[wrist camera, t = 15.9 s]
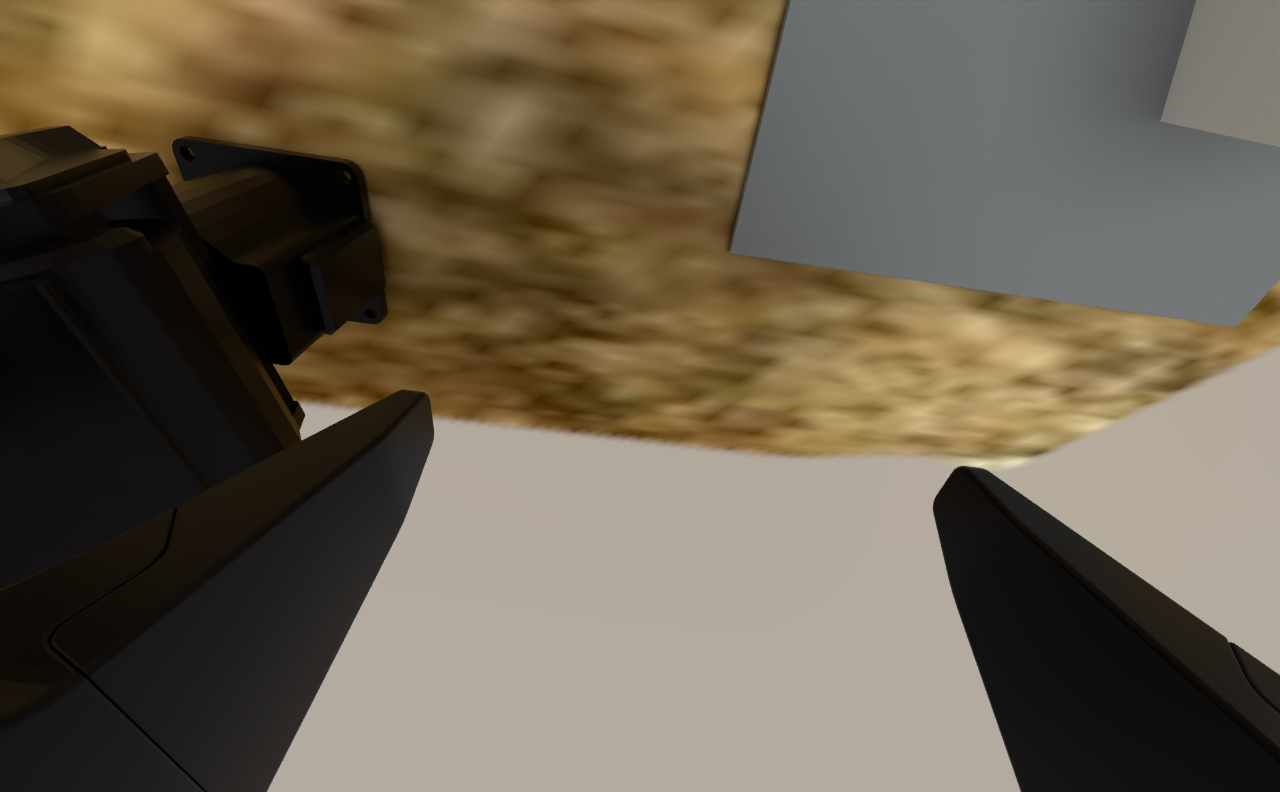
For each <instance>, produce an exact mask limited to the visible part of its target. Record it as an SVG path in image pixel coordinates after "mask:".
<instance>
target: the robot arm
mask: <svg viewBox="0 0 1280 792" xmlns="http://www.w3.org/2000/svg"><path fill="white" fill-rule="evenodd" d="M172 148H173V153H174V155H175V158H176V161H177V163H178V166H179V169H180V172H181V174H182V177H183V180H184V182H182V183H179V184H176V185H173V186H171V185H170V183H169V181H168V180H167V178H166V176H165V175H167V174H169V172H168V171H167V169H166V167H165V165H164V164H163V162H162V160H161V158H160V156H159V155H158V153H157V152H144V153H130V154H128V153H127V151H126V149H107V147H106V146H99V145H98V144H96V143H95V142H93V141H92V140H90V139H88V138H87V137H85V136H84V135H82V134H81V133H79V132H78V131H76V130H75V129H73V128H71V127H70V126H58V127H46V128H40V129H34V130H29V131H23V132H17V133H11V134H6V135H0V792H267V790H268V788H269V786H270V784H271V782H272V780H273V778H274V776H275V774H276V772H277V771H278V768H279V767H280V765H281V763H282V761H283V759H284V757H285V754H286V753H287V751H288V749H289V747H290V745H291V743H292V741H293V739H294V737H295V735H296V733H297V731H298V729H299V727H300V725H301V723H302V721H303V719H304V717H305V716H306V714H307V712H308V710H309V708H310V706H311V704H312V702H313V700H314V698H315V696H316V694H317V692H318V690H319V688H320V686H321V684H322V682H323V680H324V678H325V676H326V674H327V672H328V670H329V668H330V666H331V664H332V662H333V660H334V658H335V657H336V655H337V653H338V651H339V649H340V647H341V645H342V643H343V641H344V639H345V637H346V635H347V633H348V631H349V629H350V627H351V625H352V623H353V621H354V619H355V617H356V615H357V613H358V611H359V609H360V607H361V605H362V603H363V601H364V599H365V598H366V596H367V594H368V592H369V589H370V588H371V586H372V584H373V582H374V580H375V578H376V576H377V574H378V572H379V570H380V568H381V566H382V564H383V562H384V560H385V558H386V556H387V554H388V552H389V550H390V548H391V546H392V544H393V542H394V541H395V539H396V537H397V534H398V532H399V530H400V528H401V526H402V524H403V522H404V519H405V517H406V514H407V511H408V509H409V506H410V504H411V501H412V498H413V496H414V493H415V490H416V487H417V485H418V482H419V479H420V476H421V474H422V471H423V468H424V466H425V463H426V460H427V457H428V455H429V452H430V449H431V446H432V443H433V439H434V426H433V419H432V412H431V404H430V399H429V397H428V395H427V394H426V393H424V392H419V391H412V390H400V391H397V392H395V393H393V394H391V395H389V396H388V397H386V398H384V399H382V400H380V401H378V402H376V403H374V404H372V405H370V406H368V407H366V408H364V409H362V410H360V411H358V412H356V413H355V414H353V415H351V416H349V417H347V418H345V419H343V420H341V421H339V422H337V423H335V424H333V425H331V426H329V427H327V428H325V429H324V430H322V431H320V432H318V433H316V434H314V435H312V436H310V437H308V438H306V439H304V440H302V441H301V436H300V431H299V430H300V428H301V425H302V422H303V419H304V417H305V413H304V411H303V410H302V408H301V406H300V404H299V402H297V401H294V400H293V399H292V397H291V395H290V393H289V392H288V390H287V388H286V386H285V385H284V383H283V381H282V379H281V378H280V376H279V374H278V372H277V371H276V369H275V367H274V365H273V364H279V365H289V364H291V363H292V362H293V361H294V360H295V359H296V358H297V357H298V356H299V355H301V354H302V353H303V352H304V351H305V350H306V349H307V348H308V347H310V346H311V345H312V344H313V343H314V342H315V341H316V340H317V339H318V338H320V337H321V336H322V335H323V334H325V335H332V334H333V333H335V332H336V331H337V330H338V329H339V328H340V327H341V326H342V325H343V324H344V323H345V322H346V321H354V322H361V323H368V324H378V323H380V322H381V321H382V320H383V319H384V318H385V317H386V316H387V308H386V302H385V297H384V291H383V287H384V286H385V285H386V282H385V276H384V270H383V264H382V259H381V253H380V247H379V241H378V235H377V230H376V227H375V225H374V224H373V223H372V221H371V218H370V212H369V206H368V201H367V195H366V190H365V184H364V178H363V174H362V172H361V170H360V168H359V167H358V166H357V165H356V164H355V163H353V162H352V161H349V160H346V159H339V158H332V157H325V156H319V155H312V154H305V153H298V152H292V151H285V150H278V149H272V148H265V147H258V146H251V145H245V144H238V143H231V142H224V141H218V140H211V139H204V138H198V137H191V136H190V137H183V138H179V139H176V140H175V141H173V145H172ZM188 148H190V149H191V150H192V151H193V153H194V154H195V158H194V157H193V156H192V155H191V154H190V152H189V150H188ZM342 169H343V170H345V171H347V172H348V173H349V175H350V177H351V182H350V181H348V180H346V179H345V178H344V176H343V174H342ZM369 308H371V309H373V310H374V311H375V312H376V313H377V315H375V314H373V313H372V312H371V311H370V309H369ZM933 513H934V517H935V521H936V526H937V530H938V535H939V539H940V543H941V548H942V551H943V556H944V560H945V565H946V569H947V573H948V578H949V582H950V585H951V589H952V593H953V596H954V599H955V602H956V605H957V609H958V612H959V614H960V617H961V620H962V623H963V626H964V629H965V632H966V635H967V637H968V640H969V643H970V646H971V649H972V652H973V655H974V658H975V660H976V663H977V666H978V669H979V672H980V675H981V678H982V681H983V684H984V686H985V689H986V692H987V695H988V698H989V701H990V704H991V706H992V709H993V712H994V715H995V718H996V721H997V724H998V727H999V730H1000V732H1001V736H1002V738H1003V741H1004V744H1005V747H1006V750H1007V753H1008V756H1009V758H1010V761H1011V764H1012V767H1013V770H1014V773H1015V776H1016V779H1017V782H1018V785H1019V787H1020V790H1021V792H1280V675H1279V674H1277V673H1276V672H1275V671H1273V670H1272V669H1270V668H1269V667H1267V666H1266V665H1265V664H1263V663H1262V662H1260V661H1259V660H1257V659H1256V658H1255V657H1253V656H1252V655H1250V654H1249V653H1247V652H1246V651H1245V650H1243V649H1242V648H1240V647H1239V646H1238V645H1236V644H1235V643H1232V642H1228V640H1227V638H1226V637H1224V636H1223V635H1221V634H1220V633H1219V632H1217V631H1216V630H1214V629H1213V628H1212V627H1210V626H1209V625H1207V624H1206V623H1204V622H1203V621H1202V620H1200V619H1199V618H1197V617H1196V616H1194V615H1193V614H1192V613H1190V612H1189V611H1187V610H1186V609H1184V608H1183V607H1182V606H1180V605H1179V604H1177V603H1176V602H1175V601H1173V600H1172V599H1170V598H1169V597H1167V596H1166V595H1165V594H1163V593H1162V592H1160V591H1159V590H1157V589H1156V588H1154V587H1153V586H1152V585H1150V584H1149V583H1147V582H1146V581H1145V580H1143V579H1142V578H1140V577H1139V576H1137V575H1136V574H1135V573H1133V572H1132V571H1130V570H1129V569H1127V568H1126V567H1124V566H1123V565H1122V564H1120V563H1119V562H1117V561H1116V560H1115V559H1113V558H1112V557H1110V556H1109V555H1107V554H1106V553H1105V552H1103V551H1102V550H1100V549H1099V548H1097V547H1096V546H1095V545H1093V544H1092V543H1090V542H1089V541H1087V540H1086V539H1085V538H1083V537H1082V536H1080V535H1079V534H1077V533H1076V532H1074V531H1073V530H1071V529H1070V528H1069V527H1067V526H1066V525H1064V524H1063V523H1062V522H1060V521H1059V520H1057V519H1056V518H1055V517H1053V516H1052V515H1050V514H1049V513H1048V512H1046V511H1045V510H1043V509H1042V508H1040V507H1039V506H1038V505H1036V504H1035V503H1033V502H1032V501H1030V500H1029V499H1027V498H1026V497H1024V496H1023V495H1022V494H1020V493H1019V492H1017V491H1016V490H1015V489H1013V488H1012V487H1010V486H1009V485H1008V484H1006V483H1005V482H1003V481H1002V480H1000V479H999V478H997V477H996V476H995V475H993V474H992V473H990V472H989V471H987V470H985V469H982V468H976V467H968V466H960V467H957V468H956V469H954V471H953V472H952V473H951V475H950V476H949V478H948V479H947V481H946V482H945V484H944V485H943V487H942V488H941V489H940V491H939V493H938V494H937V495H936V497H935V500H934V503H933Z"/></svg>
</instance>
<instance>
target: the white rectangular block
mask: <svg viewBox="0 0 1280 792" xmlns="http://www.w3.org/2000/svg"><path fill="white" fill-rule="evenodd" d="M1160 122H1165V123H1169V124H1174V125H1179V126H1183V127H1188V128H1193V129H1197V130H1202V131H1207V132H1212V133H1216V134H1221V135H1226V136H1230V137H1235V138H1240V139H1244V140H1249V141H1254V142H1259V143H1263V144H1268V145H1273V146H1277V147H1280V0H1196V3H1195V6H1194V9H1193V13H1192V16H1191V19H1190V23H1189V26H1188V29H1187V33H1186V36H1185V39H1184V43H1183V46H1182V50H1181V53H1180V56H1179V60H1178V63H1177V66H1176V70H1175V73H1174V76H1173V80H1172V83H1171V86H1170V90H1169V93H1168V97H1167V100H1166V103H1165V107H1164V110H1163V113H1162V117H1161V120H1160Z"/></svg>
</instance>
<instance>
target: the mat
mask: <svg viewBox="0 0 1280 792" xmlns="http://www.w3.org/2000/svg"><path fill="white" fill-rule="evenodd" d="M1195 3H1196V0H788V2H787V6H786V10H785V15H784V19H783V23H782V27H781V32H780V36H779V40H778V44H777V48H776V53H775V57H774V61H773V65H772V69H771V74H770V78H769V82H768V86H767V91H766V95H765V99H764V103H763V107H762V112H761V116H760V120H759V124H758V128H757V133H756V137H755V141H754V145H753V150H752V154H751V158H750V162H749V166H748V171H747V175H746V179H745V183H744V187H743V192H742V196H741V200H740V204H739V209H738V213H737V217H736V221H735V225H734V230H733V234H732V238H731V242H730V246H729V251H730V253H731V254H738V255H745V256H752V257H759V258H765V259H772V260H779V261H786V262H793V263H800V264H806V265H813V266H820V267H827V268H834V269H841V270H847V271H854V272H861V273H868V274H875V275H882V276H888V277H895V278H902V279H909V280H916V281H922V282H929V283H936V284H943V285H950V286H957V287H963V288H970V289H977V290H984V291H991V292H998V293H1004V294H1011V295H1018V296H1025V297H1032V298H1039V299H1045V300H1052V301H1059V302H1066V303H1073V304H1080V305H1086V306H1093V307H1100V308H1107V309H1114V310H1121V311H1127V312H1134V313H1141V314H1148V315H1155V316H1162V317H1168V318H1175V319H1182V320H1189V321H1196V322H1203V323H1209V324H1216V325H1223V326H1230V327H1236V326H1237V325H1238V324H1239V323H1240V322H1241V321H1242V320H1243V319H1244V318H1245V317H1246V316H1247V314H1248V313H1249V312H1250V311H1251V310H1252V309H1253V308H1254V307H1255V306H1256V305H1257V304H1258V302H1259V301H1260V300H1261V299H1262V298H1263V297H1264V296H1265V295H1266V294H1267V293H1268V292H1269V290H1270V289H1271V288H1272V287H1273V286H1274V285H1275V284H1276V283H1277V282H1278V281H1279V280H1280V147H1277V146H1273V145H1268V144H1263V143H1259V142H1254V141H1249V140H1244V139H1240V138H1235V137H1230V136H1226V135H1221V134H1216V133H1212V132H1207V131H1202V130H1197V129H1193V128H1188V127H1183V126H1179V125H1174V124H1169V123H1165V122H1160V120H1161V117H1162V113H1163V110H1164V107H1165V103H1166V100H1167V97H1168V93H1169V90H1170V86H1171V83H1172V80H1173V76H1174V73H1175V70H1176V66H1177V63H1178V60H1179V56H1180V53H1181V50H1182V46H1183V43H1184V39H1185V36H1186V33H1187V29H1188V26H1189V23H1190V19H1191V16H1192V13H1193V9H1194V6H1195Z"/></svg>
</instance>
